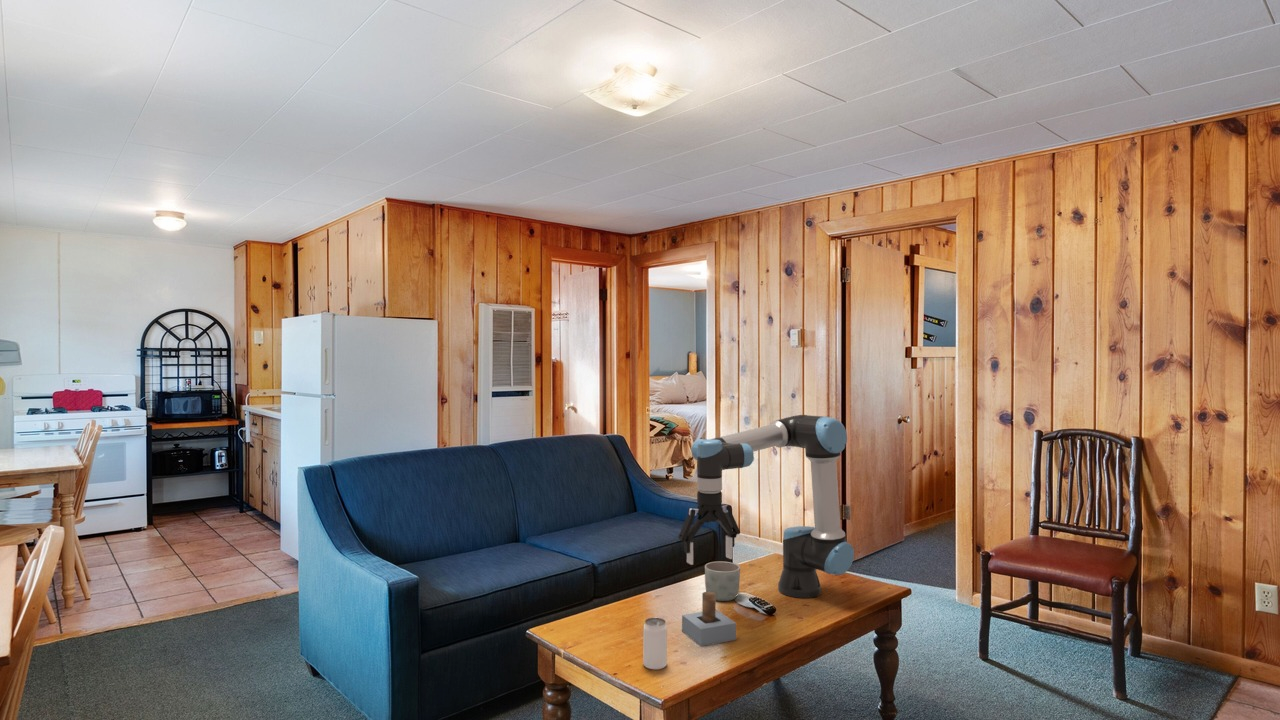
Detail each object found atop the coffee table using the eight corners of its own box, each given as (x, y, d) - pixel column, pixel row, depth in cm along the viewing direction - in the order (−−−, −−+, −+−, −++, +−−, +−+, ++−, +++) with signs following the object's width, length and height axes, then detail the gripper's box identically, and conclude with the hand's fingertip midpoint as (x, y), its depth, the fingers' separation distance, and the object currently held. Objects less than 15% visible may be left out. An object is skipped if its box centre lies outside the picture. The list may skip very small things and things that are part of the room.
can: (652, 672, 183) (652, 627, 183) (638, 663, 189) (638, 620, 189) (671, 666, 187) (671, 622, 187) (657, 657, 192) (657, 615, 192)
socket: (715, 625, 216) (716, 609, 216) (736, 639, 205) (736, 623, 205) (682, 631, 211) (682, 615, 211) (700, 646, 200) (700, 629, 200)
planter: (739, 604, 234) (739, 572, 234) (703, 602, 237) (703, 570, 237) (740, 592, 247) (740, 562, 247) (706, 590, 249) (706, 560, 249)
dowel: (711, 630, 211) (711, 591, 211) (717, 634, 207) (718, 595, 207) (699, 631, 209) (700, 592, 209) (706, 636, 206) (706, 596, 206)
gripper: (738, 485, 217) (738, 552, 217) (667, 492, 207) (667, 562, 207) (751, 489, 210) (751, 558, 210) (678, 496, 200) (678, 569, 200)
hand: (709, 560), depth 208 cm, fingers open, 13 cm apart
